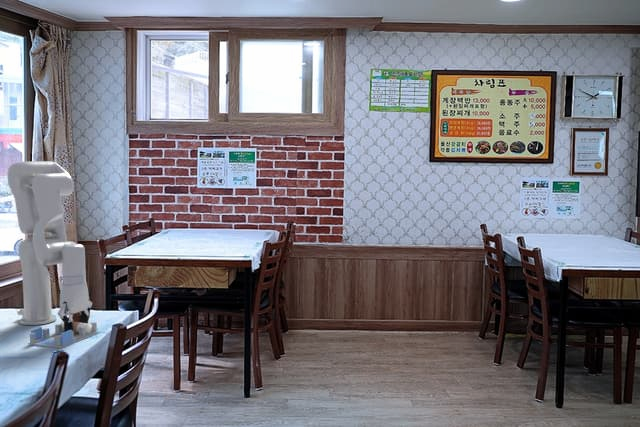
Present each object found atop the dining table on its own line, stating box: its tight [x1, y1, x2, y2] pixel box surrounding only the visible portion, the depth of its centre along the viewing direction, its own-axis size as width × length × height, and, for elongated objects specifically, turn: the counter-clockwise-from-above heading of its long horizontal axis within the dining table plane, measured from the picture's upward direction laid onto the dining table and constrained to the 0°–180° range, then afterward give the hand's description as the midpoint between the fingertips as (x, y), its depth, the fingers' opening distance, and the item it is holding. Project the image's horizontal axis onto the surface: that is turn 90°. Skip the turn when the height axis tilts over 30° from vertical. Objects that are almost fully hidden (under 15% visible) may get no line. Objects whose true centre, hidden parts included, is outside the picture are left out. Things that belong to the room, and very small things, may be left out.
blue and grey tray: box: [28, 320, 100, 349], centre depth 221 cm, size 13×19×5 cm
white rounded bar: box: [60, 321, 92, 333], centre depth 227 cm, size 11×4×4 cm, turn 70°
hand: (76, 329), depth 227 cm, fingers open, 7 cm apart
